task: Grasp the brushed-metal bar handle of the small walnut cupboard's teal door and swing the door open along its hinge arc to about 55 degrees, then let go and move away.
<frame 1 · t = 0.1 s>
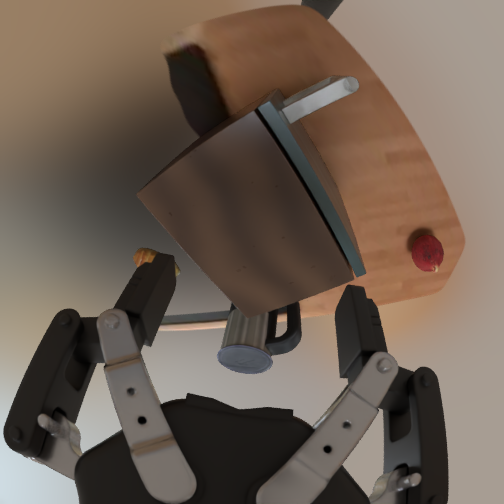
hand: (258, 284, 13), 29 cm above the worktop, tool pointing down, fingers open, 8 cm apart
milk frother: (253, 281, 52), on the worktop
door: (341, 149, 26), point 9 cm above the worktop, hinge at 0.0°
cupboard: (266, 163, 38), on the worktop
pastry: (160, 264, 52), on the worktop
onion: (419, 239, 42), on the worktop
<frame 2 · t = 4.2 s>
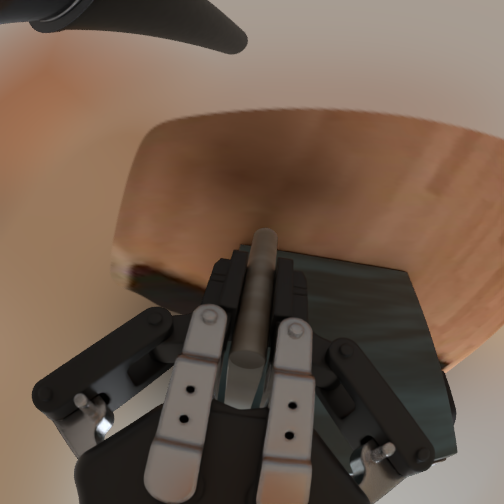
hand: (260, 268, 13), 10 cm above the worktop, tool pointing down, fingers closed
door: (358, 316, 16), point 9 cm above the worktop, hinge at 0.0°, touching gripper
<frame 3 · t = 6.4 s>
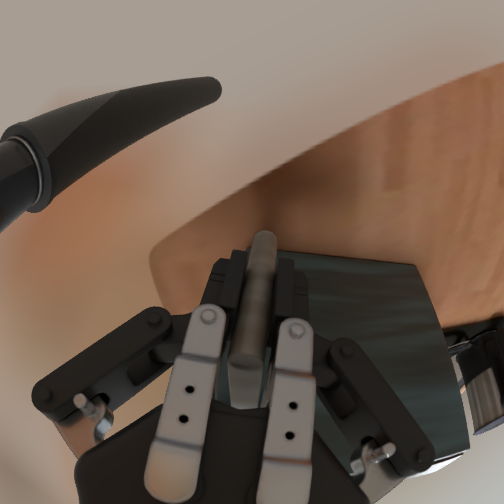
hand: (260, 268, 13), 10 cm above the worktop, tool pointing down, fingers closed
milk frother: (462, 345, 32), on the worktop
door: (363, 313, 16), point 9 cm above the worktop, hinge at 26.1°, touching gripper
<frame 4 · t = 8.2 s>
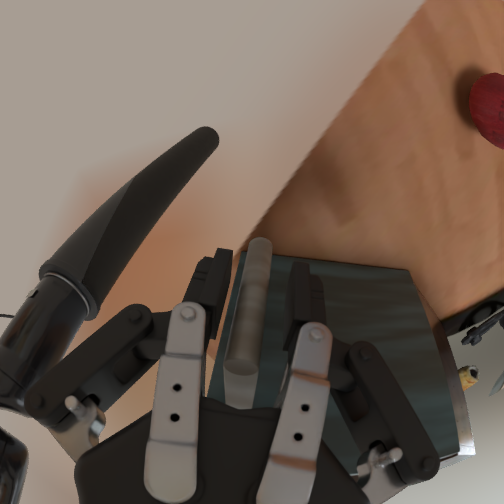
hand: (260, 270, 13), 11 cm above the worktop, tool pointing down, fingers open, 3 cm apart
milk frother: (502, 311, 27), on the worktop
door: (356, 319, 16), point 9 cm above the worktop, hinge at 51.8°
cupboard: (372, 337, 32), on the worktop
pastry: (458, 374, 38), on the worktop
onion: (475, 101, 14), on the worktop
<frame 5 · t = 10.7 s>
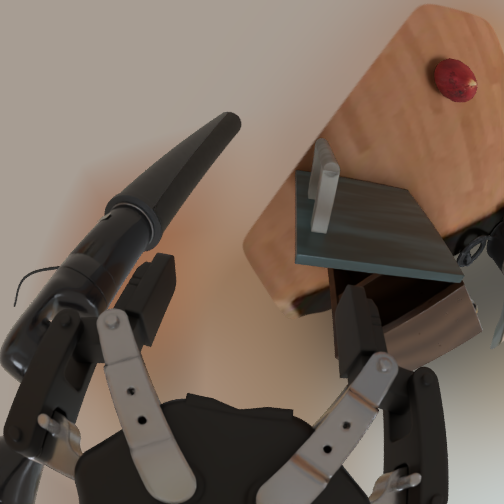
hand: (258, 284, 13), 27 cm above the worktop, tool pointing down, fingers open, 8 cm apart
milk frother: (487, 241, 37), on the worktop
door: (377, 188, 27), point 9 cm above the worktop, hinge at 51.8°
cupboard: (386, 250, 42), on the worktop
onion: (441, 77, 24), on the worktop
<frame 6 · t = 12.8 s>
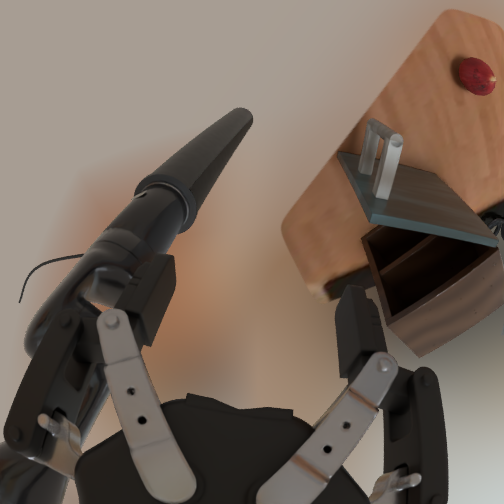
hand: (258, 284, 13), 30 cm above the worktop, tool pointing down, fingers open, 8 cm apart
milk frother: (501, 225, 38), on the worktop
door: (420, 165, 27), point 10 cm above the worktop, hinge at 51.8°
cupboard: (414, 232, 43), on the worktop
onion: (463, 74, 25), on the worktop
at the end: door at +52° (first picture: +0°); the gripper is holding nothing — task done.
